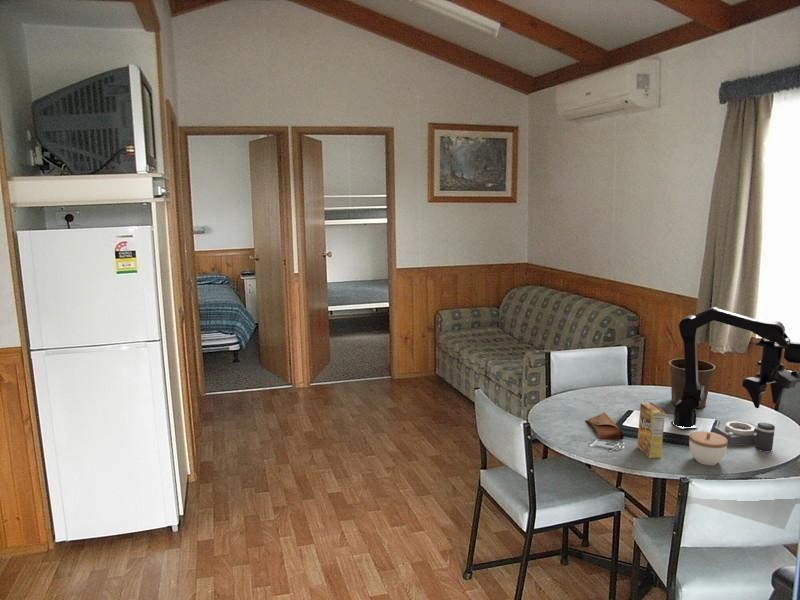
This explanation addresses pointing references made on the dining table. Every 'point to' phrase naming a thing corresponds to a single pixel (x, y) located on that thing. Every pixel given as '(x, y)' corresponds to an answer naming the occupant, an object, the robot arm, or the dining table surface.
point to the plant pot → (679, 378)
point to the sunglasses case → (605, 427)
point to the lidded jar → (707, 447)
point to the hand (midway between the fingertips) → (766, 405)
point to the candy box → (651, 430)
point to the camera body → (738, 433)
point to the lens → (764, 436)
